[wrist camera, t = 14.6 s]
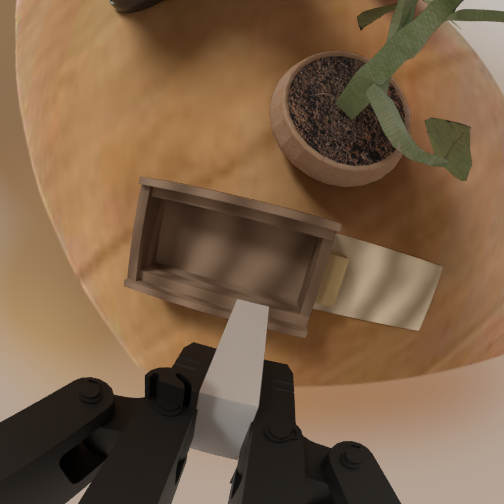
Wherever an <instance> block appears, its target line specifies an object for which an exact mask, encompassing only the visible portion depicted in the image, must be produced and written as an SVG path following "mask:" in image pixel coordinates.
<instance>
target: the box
mask: <svg viewBox="0 0 504 504" xmlns="http://www.w3.org/2000/svg"><path fill="white" fill-rule="evenodd" d="M139 184H142V185H141V190H140V195H139V200H138V205H137V211H136V217H135V223H134V229H133V236H132V243H131V251H130V259H129V268H128V278H127V279H125V281H124V286H125V287H128V288H131V289H134V290H137V291H139V292H142V293H145V294H148V295H151V296H154V297H157V298H160V299H163V300H166V301H169V302H172V303H175V304H178V305H182V306H185V307H188V308H191V309H195V310H198V311H201V312H205V313H208V314H211V315H215V316H218V317H222V318H225V319H229V318H230V315H231V313H232V310H233V308H234V306H235V303H236V301H237V299H240V300H244V301H248V302H252V303H256V304H260V305H264V306H268V307H269V312H268V323H267V330H272V331H276V332H280V333H284V334H289V335H293V336H297V337H302V338H306V335H307V333H308V331H307V324H308V321H309V318H310V315H311V312H312V309H313V306H314V303H315V300H316V297H317V294H318V291H319V288H320V285H321V282H322V279H323V276H324V272H325V269H326V266H327V263H328V259H329V256H330V252H331V249H332V246H333V242H334V239H335V235H336V231H338V232H340V230H341V226H342V224H340V223H337V222H334V221H332V220H329V219H326V218H322V217H318V216H315V215H311V214H308V213H304V212H300V211H297V210H293V209H289V208H285V207H281V206H277V205H274V204H270V203H266V202H262V201H258V200H253V199H249V198H245V197H241V196H237V195H232V194H228V193H224V192H219V191H215V190H210V189H205V188H201V187H196V186H191V185H186V184H182V183H177V182H172V181H166V180H160V179H154V178H147V177H140V180H139Z"/></svg>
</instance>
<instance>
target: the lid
mask: <svg viewBox="0 0 504 504" xmlns="http://www.w3.org/2000/svg"><path fill="white" fill-rule="evenodd" d="M442 269H443V267H442V266H439V265H436V264H434V263H431V262H428V261H425V260H422V259H419V258H416V257H413V256H410V255H406V254H403V253H400V252H397V251H394V250H391V249H388V248H384V247H381V246H378V245H375V244H371V243H368V242H365V241H362V240H358V239H355V238H351V237H348V236H345V235H341V234H338V233H336V235H335V239H334V242H333V246H332V249H331V252H330V256H329V259H328V263H327V266H326V269H325V272H324V276H323V279H322V282H321V285H320V288H319V291H318V294H317V297H316V300H315V303H314V306H313V309H317V310H321V311H325V312H329V313H334V314H338V315H343V316H347V317H352V318H356V319H361V320H366V321H371V322H375V323H380V324H385V325H390V326H395V327H400V328H406V329H411V330H416V331H419V329H420V327H421V325H422V322H423V320H424V318H425V315H426V313H427V310H428V308H429V305H430V303H431V300H432V298H433V295H434V292H435V289H436V287H437V284H438V281H439V278H440V275H441V272H442Z"/></svg>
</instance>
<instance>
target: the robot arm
mask: <svg viewBox="0 0 504 504" xmlns="http://www.w3.org/2000/svg"><path fill="white" fill-rule="evenodd" d="M109 1H110V3H111V5H112V6H113V7H114V8H115V9H116V10H118V11H120V12H124V13H128V12H135V11H139V10H142V9H145V8H148V7H150V6H152V5H155V4H157V3H158V2H160V1H162V0H109ZM268 312H269V307H268V306H264V305H260V304H256V303H252V302H248V301H244V300H240V299H237V301H236V303H235V306H234V308H233V310H232V313H231V315H230V318H229V320H228V323H227V325H226V328H225V330H224V333H223V335H222V338H221V340H220V342H219V345H218V347H217V349H216V348H212V347H208V346H205V345H201V344H198V343H195V342H193V343H191V344H190V345H188V346H186V347H184V349H183V350H182V352H181V353H180V355H179V357H178V358H177V360H176V361H175V364H174V365H173V366H172V368H169V367H166V368H157V369H154V370H151V371H150V372H148V373H147V374H146V375H145V397H143V398H129V397H123V396H117V395H114V394H113V391H112V388H111V387H110V386H109V385H108V384H107V383H105V382H103V381H102V380H100V379H96V378H92V377H87V378H80V379H77V380H75V381H73V382H71V383H69V384H68V385H66V386H64V387H63V388H61V389H59V390H57V391H55V392H54V393H52V394H51V395H48V396H47V397H45V398H43V399H42V400H40V401H38V402H36V403H34V404H33V405H31V406H29V407H27V408H26V409H24V410H22V411H20V412H18V413H16V414H15V415H13V416H11V417H9V418H7V419H5V420H4V421H2V422H0V504H65V503H66V502H68V501H69V500H70V499H71V498H73V497H74V496H75V495H76V494H77V493H79V492H80V491H81V490H82V489H83V488H85V487H86V486H87V485H88V484H89V483H91V484H90V485H89V487H88V489H87V490H86V492H85V493H84V495H83V497H82V498H81V500H80V502H79V503H78V504H171V503H172V500H173V497H174V495H175V492H176V489H177V486H178V483H179V481H180V478H181V475H182V472H183V469H184V467H185V464H186V460H187V453H188V451H189V448H192V449H196V450H199V451H203V452H206V453H210V454H214V455H218V456H222V457H227V458H231V459H238V457H239V460H238V466H237V468H236V470H235V472H234V475H233V477H232V479H231V481H230V483H231V484H232V486H231V491H230V496H229V501H228V504H401V503H400V501H399V499H398V498H397V496H396V494H395V492H394V491H393V489H392V487H391V485H390V483H389V482H388V480H387V478H386V477H385V475H384V473H383V471H382V470H381V468H380V466H379V464H378V463H377V461H376V459H375V458H374V456H373V454H372V453H371V452H370V451H369V449H368V448H366V447H365V446H363V445H362V444H360V443H356V442H353V441H343V442H340V443H337V444H336V445H335V446H334V447H332V448H329V447H326V446H323V445H320V444H317V443H314V442H312V441H310V440H308V439H307V438H305V437H304V436H303V435H302V432H301V429H300V428H299V427H298V426H297V425H296V422H295V400H294V385H293V383H294V381H293V373H292V371H291V370H290V368H289V366H288V365H287V364H282V363H277V362H273V361H268V360H264V353H265V343H266V333H267V323H268ZM190 445H191V446H190Z"/></svg>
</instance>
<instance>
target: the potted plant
mask: <svg viewBox="0 0 504 504" xmlns="http://www.w3.org/2000/svg"><path fill="white" fill-rule="evenodd" d="M423 1H424V2H426V3H428V6H427V8H426V9H425V10H424V11H423V12H422V13H421V14H420V15H419V16H417V17H416V18H415V19H414V14H415V6H416V4H417V2H418V0H398V3H396V4H393V5H387V6H383V7H378V8H374V9H371V10H367V11H364V12H362V13H361V14H360V15H359V16H357V20H358V24H359V27H360V30H362V29H363V28H364V27H365V26H367V25H368V24H370V23H372V22H373V21H374V20H376V19H378V18H380V17H382V16H383V15H384V14H386V13H388V12H391V11H393V10H395V12H394V15H393V17H392V20H391V23H390V28H389V33H388V38H387V42H386V44H385V45H384V47H383V48H382V49H381V50H380V51H379V52H378V53H377V54H376V55H375V56H374V57H373V58H372V59H371V60H369V59H367V58H365V57H363V56H361V55H358V54H354V53H350V52H346V51H326V52H322V53H318V54H314V55H311V56H309V57H308V58H306V59H304V60H302V61H300V62H299V63H297V64H295V65H294V66H292V67H291V68H290V69H289V70H288V71H287V72H286V73H285V74H284V75H283V77H282V78H281V79H280V80H279V82H278V84H277V86H276V88H275V91H274V93H273V95H272V98H271V106H270V119H271V125H272V130H273V134H274V136H275V138H276V140H277V143H278V145H279V147H280V149H281V151H282V152H283V153H284V154H285V155H286V157H287V158H288V159H289V160H290V162H291V163H292V164H293V165H294V166H296V167H297V168H298V169H300V170H301V171H302V172H303V173H305V174H306V175H307V176H309V177H311V178H314V179H316V180H318V181H320V182H323V183H325V184H329V185H335V186H340V187H352V186H363V185H366V184H369V183H371V182H374V181H377V180H379V179H381V178H382V177H383V176H385V175H386V174H387V173H389V172H390V171H391V170H392V169H394V168H395V166H396V165H397V163H398V162H399V160H400V159H401V157H402V156H403V155H404V156H406V157H407V158H408V159H410V160H413V161H416V162H420V163H423V164H426V165H430V166H439V167H445V168H446V169H447V170H448V171H449V172H450V173H451V174H452V175H453V176H455V177H456V178H458V179H460V180H461V181H467V177H468V174H469V171H470V168H471V166H472V160H471V153H470V128H471V127H469V126H466V125H463V124H460V123H457V122H452V121H448V120H443V119H438V118H429V119H427V120H425V124H426V128H427V133H428V135H429V138H430V141H431V144H432V148H433V151H434V153H435V155H433V154H430V153H427V152H425V151H423V150H422V149H421V148H420V147H419V146H417V145H416V143H415V142H414V140H413V139H412V137H411V136H410V130H411V114H410V110H409V106H408V103H407V99H406V97H405V95H404V93H403V91H402V90H401V88H400V86H399V84H398V83H397V82H396V81H395V80H394V78H393V77H392V75H393V74H394V73H395V72H396V70H397V69H398V68H399V67H400V66H401V65H402V64H403V63H404V62H405V61H406V60H409V59H411V58H413V57H415V55H416V54H417V53H418V52H419V51H420V50H421V49H422V48H423V46H424V45H425V43H426V42H427V40H428V39H429V37H430V36H431V35H432V33H433V32H434V31H435V30H436V29H437V28H438V27H439V26H440V25H441V24H442V23H443V22H444V21H446V20H450V21H451V22H453V21H452V20H457V21H496V22H504V12H503V11H494V10H476V9H470V10H469V9H464V10H459V11H457V12H455V10H456V8H457V7H458V6H459V4H460V3H461V2H462V1H463V0H433V1H431V0H423ZM453 23H454V22H453ZM454 24H455V23H454ZM455 25H456V24H455ZM456 26H457V25H456Z"/></svg>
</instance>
